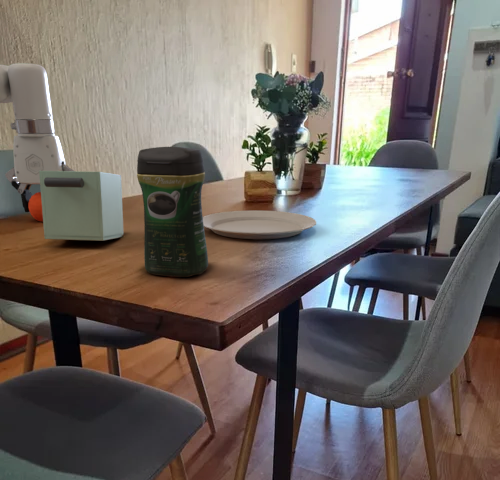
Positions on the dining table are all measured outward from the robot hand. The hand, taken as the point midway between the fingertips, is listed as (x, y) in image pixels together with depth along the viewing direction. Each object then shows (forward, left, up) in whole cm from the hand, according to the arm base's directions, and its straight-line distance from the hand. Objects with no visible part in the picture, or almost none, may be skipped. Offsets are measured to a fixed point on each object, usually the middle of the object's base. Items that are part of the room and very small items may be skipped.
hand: (47, 211), depth 116 cm
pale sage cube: (+16, -20, -1) cm, 25 cm away
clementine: (0, 0, -3) cm, 3 cm away
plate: (+48, -2, -3) cm, 48 cm away
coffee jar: (+38, -36, -3) cm, 52 cm away
